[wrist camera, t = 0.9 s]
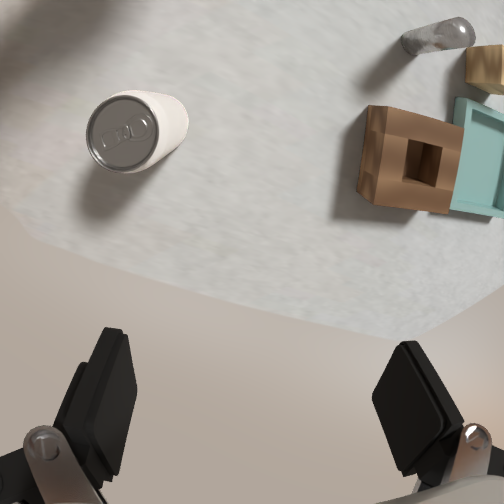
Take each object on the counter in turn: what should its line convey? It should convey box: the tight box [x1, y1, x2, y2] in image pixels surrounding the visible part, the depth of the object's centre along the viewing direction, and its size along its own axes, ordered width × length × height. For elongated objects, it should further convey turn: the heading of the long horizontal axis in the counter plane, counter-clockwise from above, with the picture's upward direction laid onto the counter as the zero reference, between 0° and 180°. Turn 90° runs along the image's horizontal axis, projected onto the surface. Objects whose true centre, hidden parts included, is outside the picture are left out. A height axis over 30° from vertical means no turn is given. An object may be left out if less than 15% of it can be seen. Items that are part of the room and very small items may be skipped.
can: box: [86, 90, 189, 173], centre depth 25 cm, size 6×6×12 cm
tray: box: [450, 97, 504, 219], centre depth 32 cm, size 14×12×2 cm
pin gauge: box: [401, 17, 476, 55], centre depth 23 cm, size 3×3×10 cm
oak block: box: [465, 45, 504, 95], centre depth 25 cm, size 5×5×7 cm
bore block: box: [356, 105, 465, 214], centre depth 31 cm, size 10×10×5 cm
